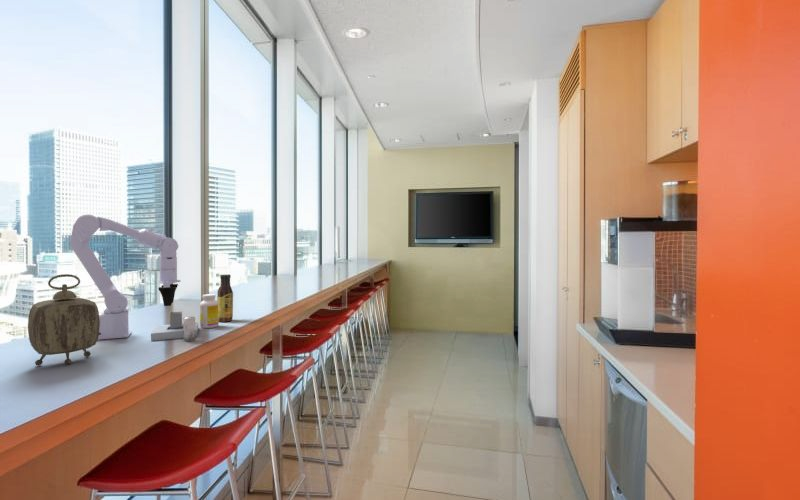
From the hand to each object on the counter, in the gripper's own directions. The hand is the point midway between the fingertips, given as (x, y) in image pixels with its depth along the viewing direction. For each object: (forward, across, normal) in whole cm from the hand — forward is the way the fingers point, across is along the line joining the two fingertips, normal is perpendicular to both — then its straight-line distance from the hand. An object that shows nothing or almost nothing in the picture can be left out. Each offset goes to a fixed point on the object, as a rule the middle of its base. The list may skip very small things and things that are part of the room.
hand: (168, 304), depth 153 cm
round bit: (+10, -21, -8) cm, 25 cm away
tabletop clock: (+10, -35, +22) cm, 43 cm away
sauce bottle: (+10, +10, -20) cm, 25 cm away
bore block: (+10, -9, -3) cm, 14 cm away
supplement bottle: (+10, 0, -14) cm, 17 cm away
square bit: (+10, -9, -3) cm, 14 cm away
